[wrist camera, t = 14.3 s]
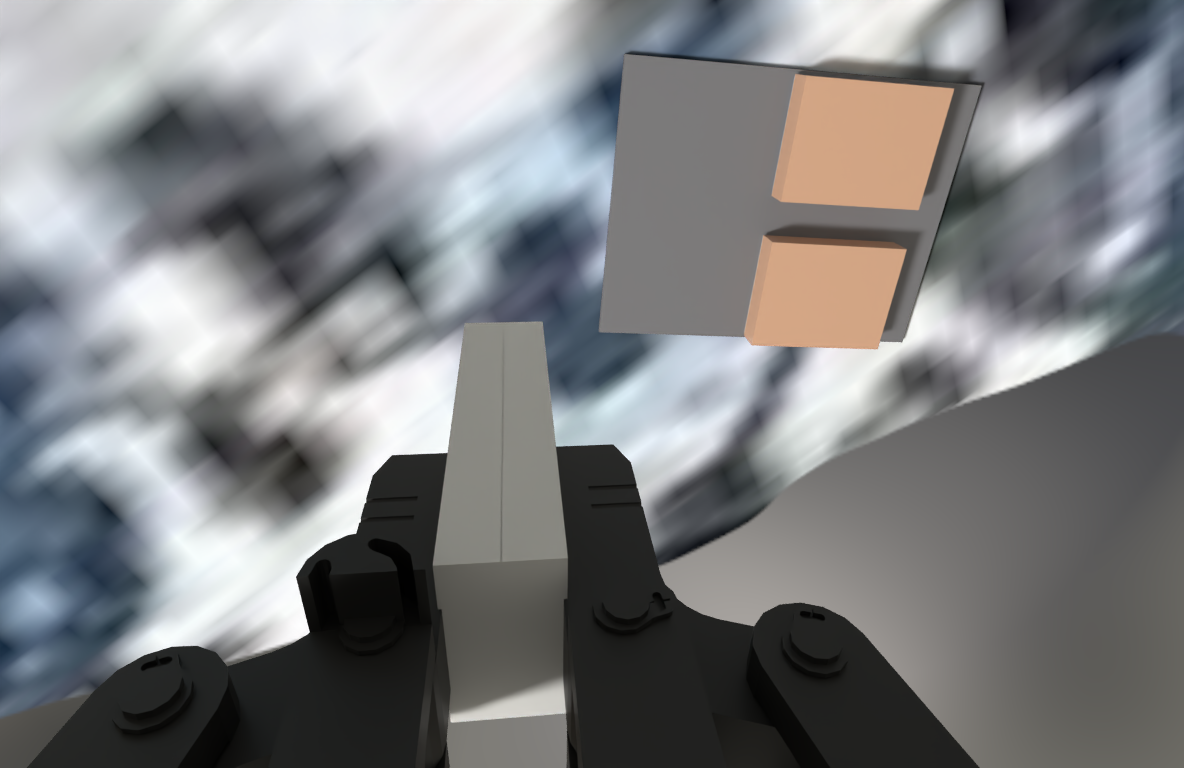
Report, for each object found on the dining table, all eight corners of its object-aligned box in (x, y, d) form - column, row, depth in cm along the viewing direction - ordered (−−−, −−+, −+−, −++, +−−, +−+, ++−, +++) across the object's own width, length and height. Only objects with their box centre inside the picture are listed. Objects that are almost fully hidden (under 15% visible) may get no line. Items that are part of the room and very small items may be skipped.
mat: (624, 53, 39) (625, 54, 39) (977, 85, 42) (981, 85, 42) (598, 329, 47) (599, 332, 46) (899, 339, 50) (902, 342, 49)
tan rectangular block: (806, 75, 38) (954, 88, 40) (793, 73, 40) (935, 86, 41) (780, 202, 42) (918, 210, 43) (769, 194, 43) (902, 203, 45)
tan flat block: (772, 242, 43) (906, 249, 44) (761, 233, 44) (891, 240, 46) (751, 345, 46) (877, 349, 47) (742, 333, 48) (864, 337, 49)
